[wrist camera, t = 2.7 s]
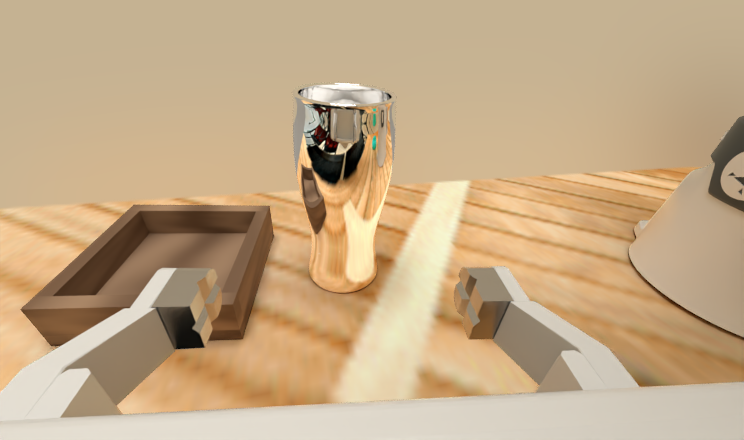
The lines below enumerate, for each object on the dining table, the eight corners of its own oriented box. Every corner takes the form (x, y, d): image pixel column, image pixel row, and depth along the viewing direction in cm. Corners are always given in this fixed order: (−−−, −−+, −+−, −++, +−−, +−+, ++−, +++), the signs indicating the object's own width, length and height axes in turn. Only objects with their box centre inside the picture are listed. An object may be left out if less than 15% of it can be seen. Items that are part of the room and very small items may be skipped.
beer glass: (308, 244, 30) (297, 79, 22) (378, 244, 31) (393, 84, 23) (298, 298, 25) (279, 102, 16) (385, 297, 25) (408, 108, 17)
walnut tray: (273, 235, 31) (269, 205, 29) (242, 338, 21) (232, 304, 19) (147, 235, 30) (133, 204, 28) (50, 345, 20) (20, 309, 18)
